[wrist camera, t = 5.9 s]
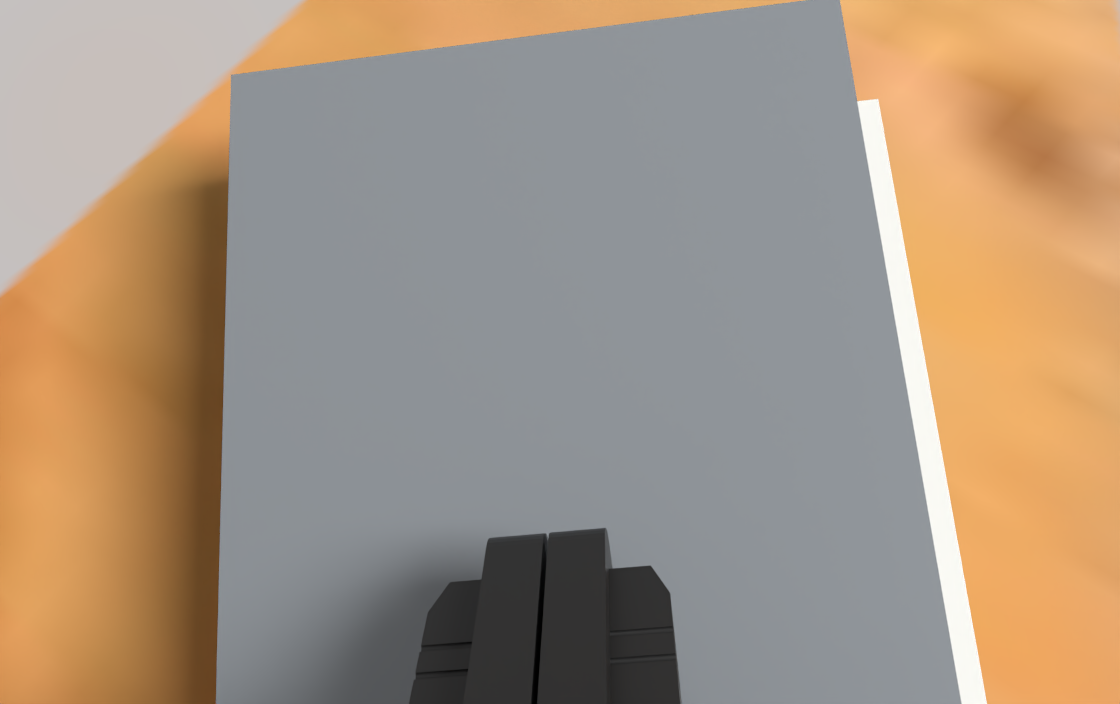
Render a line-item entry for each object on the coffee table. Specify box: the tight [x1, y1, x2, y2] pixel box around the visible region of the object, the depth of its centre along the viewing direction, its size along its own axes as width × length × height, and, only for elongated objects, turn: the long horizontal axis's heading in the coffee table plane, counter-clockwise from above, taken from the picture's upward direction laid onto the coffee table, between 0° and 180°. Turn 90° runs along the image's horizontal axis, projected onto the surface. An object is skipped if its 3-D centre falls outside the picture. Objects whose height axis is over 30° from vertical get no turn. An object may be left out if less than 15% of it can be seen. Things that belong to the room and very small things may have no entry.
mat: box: [857, 99, 987, 704], centre depth 17 cm, size 12×16×1 cm
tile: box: [216, 0, 962, 704], centre depth 16 cm, size 10×3×12 cm
